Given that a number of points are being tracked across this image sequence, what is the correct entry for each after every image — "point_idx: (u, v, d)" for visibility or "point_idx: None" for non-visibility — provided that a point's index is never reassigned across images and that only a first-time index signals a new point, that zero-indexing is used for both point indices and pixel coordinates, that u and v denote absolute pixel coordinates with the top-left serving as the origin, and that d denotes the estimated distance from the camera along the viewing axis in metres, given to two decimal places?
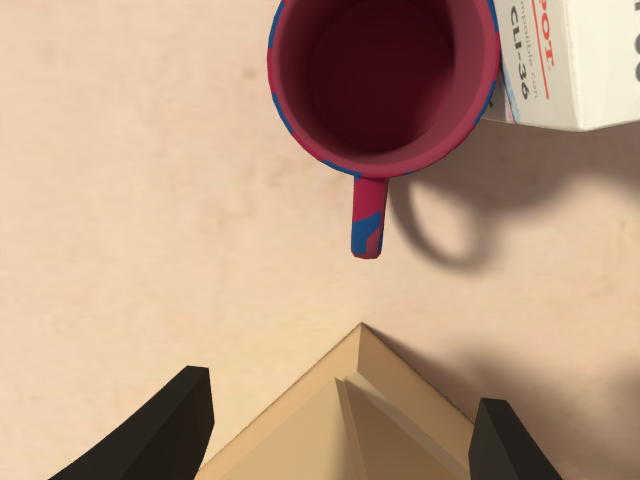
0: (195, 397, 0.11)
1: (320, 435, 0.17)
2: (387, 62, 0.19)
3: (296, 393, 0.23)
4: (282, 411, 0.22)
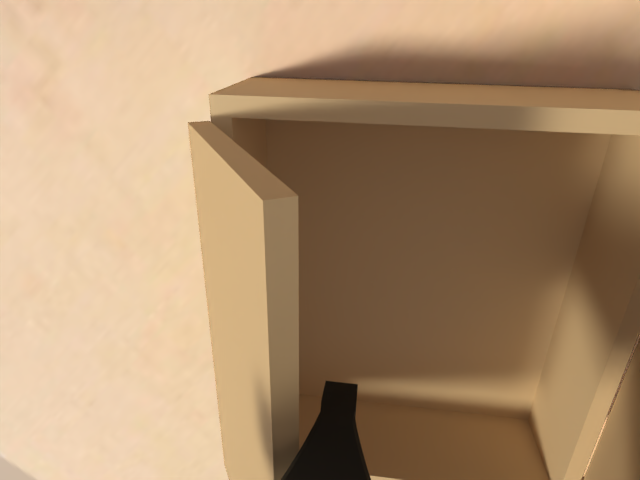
0: None
1: (207, 187, 0.11)
2: None
3: None
4: None
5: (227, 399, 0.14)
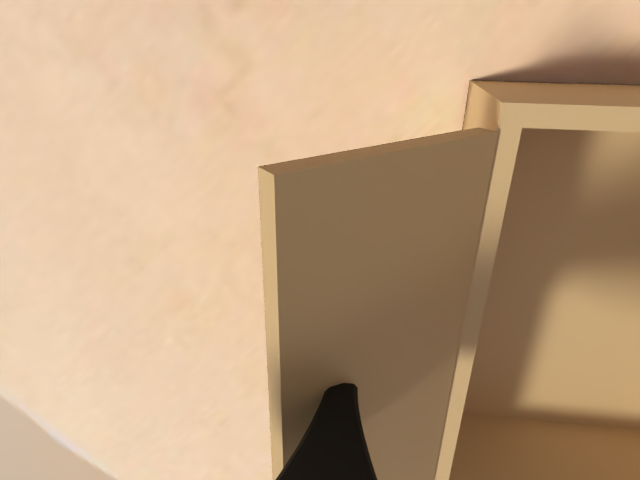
0: None
1: None
2: None
3: None
4: None
5: None
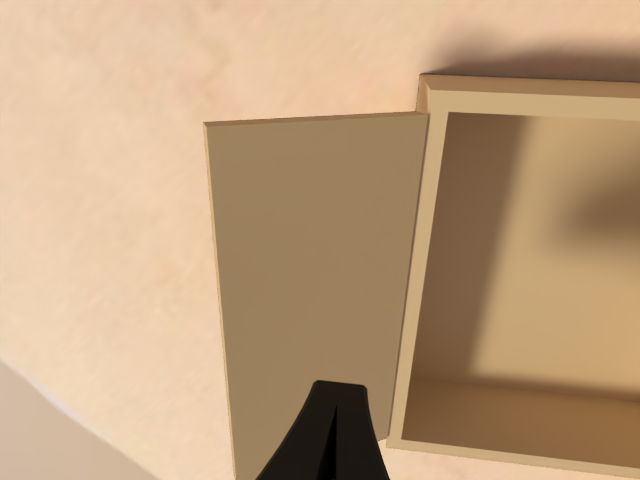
0: None
1: None
2: None
3: None
4: None
5: None
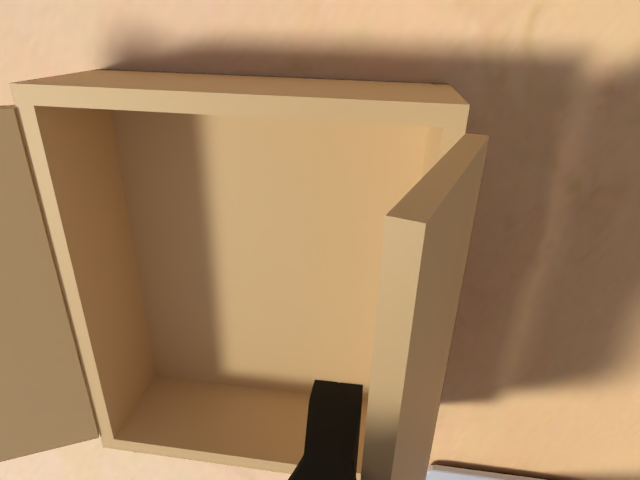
0: (360, 416, 0.11)
1: None
2: None
3: None
4: None
5: None
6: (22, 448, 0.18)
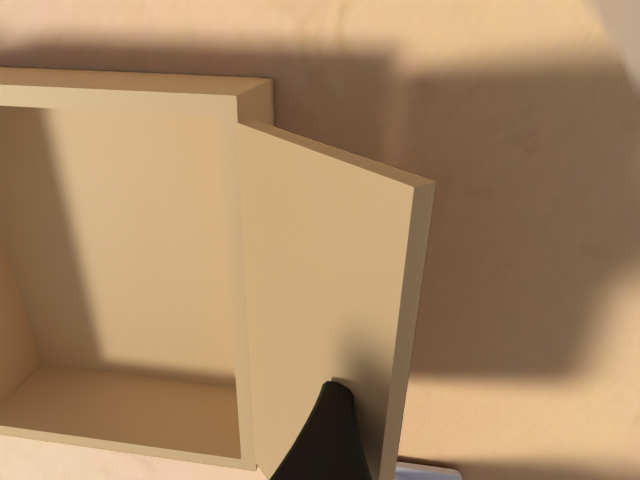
0: None
1: None
2: None
3: None
4: None
5: None
6: None
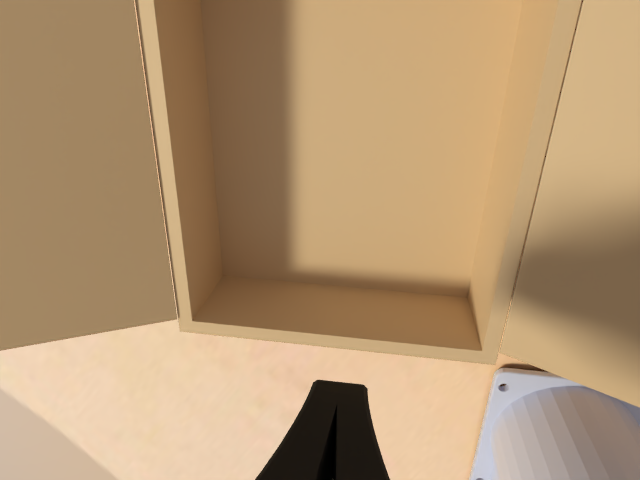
0: None
1: None
2: None
3: None
4: None
5: None
6: (104, 323, 0.18)
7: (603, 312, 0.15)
